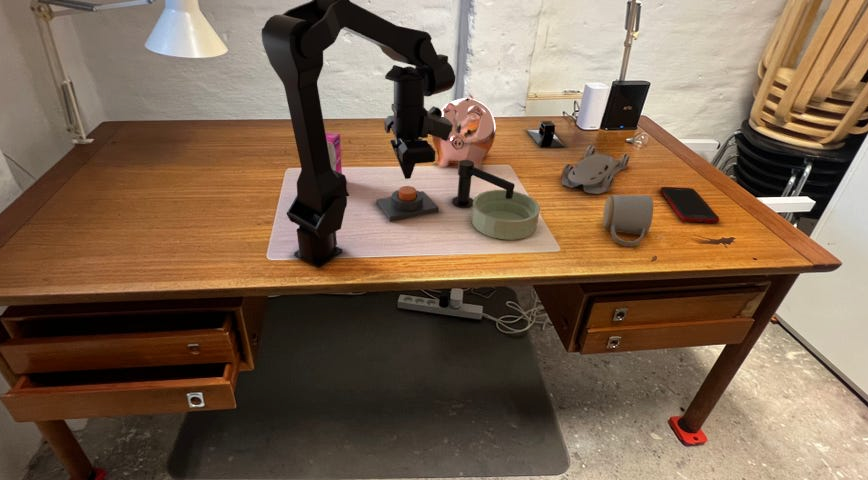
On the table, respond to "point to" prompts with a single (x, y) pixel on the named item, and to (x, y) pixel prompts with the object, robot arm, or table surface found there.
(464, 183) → the black faucet base
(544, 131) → the build plate
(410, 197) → the orange button
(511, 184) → the spout
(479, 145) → the piggy bank
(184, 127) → the table surface
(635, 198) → the ceramic mug
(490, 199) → the basin
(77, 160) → the table surface
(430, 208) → the button panel
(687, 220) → the cell phone
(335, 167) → the supplement box
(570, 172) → the grey flat lobed piece
